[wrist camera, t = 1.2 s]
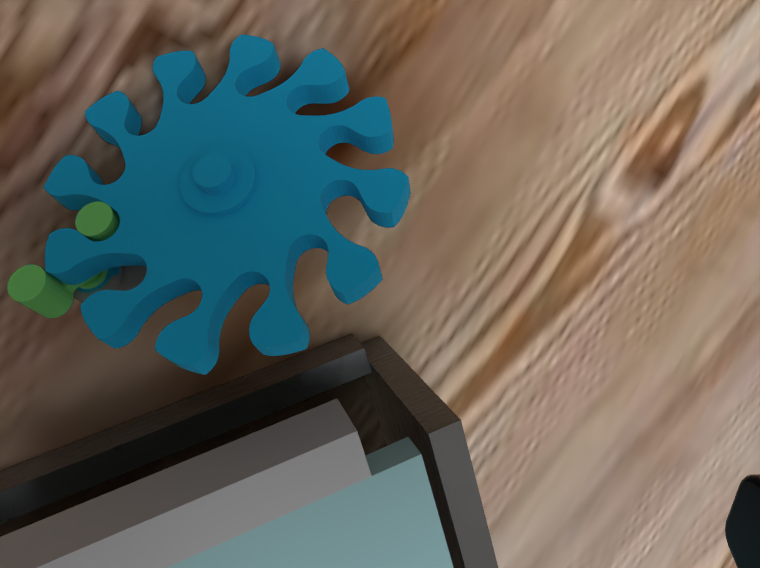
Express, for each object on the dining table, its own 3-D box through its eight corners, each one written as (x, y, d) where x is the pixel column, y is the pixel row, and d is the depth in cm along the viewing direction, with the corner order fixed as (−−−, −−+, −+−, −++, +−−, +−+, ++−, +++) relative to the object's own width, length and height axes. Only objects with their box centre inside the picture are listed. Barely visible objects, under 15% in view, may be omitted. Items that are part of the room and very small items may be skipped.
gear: (321, -29, 19) (475, 250, 15) (352, 100, 24) (470, 330, 20) (-40, 118, 18) (23, 450, 14) (75, 217, 24) (143, 477, 20)
